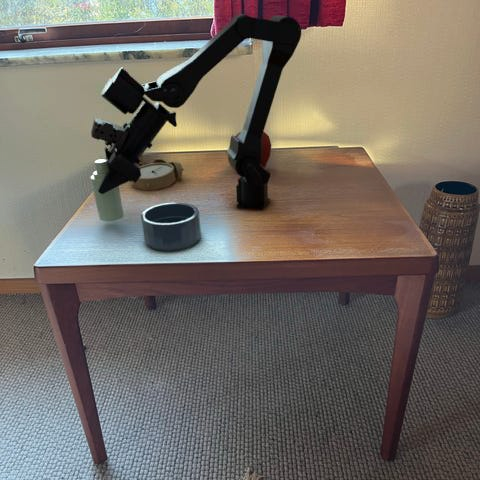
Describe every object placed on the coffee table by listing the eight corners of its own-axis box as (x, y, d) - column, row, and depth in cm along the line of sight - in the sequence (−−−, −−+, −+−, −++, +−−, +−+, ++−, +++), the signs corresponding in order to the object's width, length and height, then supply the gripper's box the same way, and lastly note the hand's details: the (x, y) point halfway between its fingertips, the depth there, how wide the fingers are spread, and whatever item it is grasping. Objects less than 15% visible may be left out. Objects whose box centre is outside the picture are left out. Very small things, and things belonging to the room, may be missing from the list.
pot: (209, 231, 110) (207, 205, 106) (187, 255, 101) (184, 227, 97) (161, 226, 113) (157, 200, 110) (135, 249, 104) (130, 221, 101)
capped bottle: (128, 212, 115) (118, 157, 108) (115, 222, 111) (104, 165, 104) (107, 210, 117) (96, 156, 110) (94, 220, 113) (82, 164, 106)
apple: (241, 164, 148) (239, 122, 141) (276, 167, 144) (276, 124, 138) (226, 176, 139) (224, 132, 133) (263, 179, 136) (263, 134, 129)
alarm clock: (122, 174, 135) (161, 150, 143) (127, 191, 138) (165, 167, 146) (151, 182, 129) (190, 156, 137) (156, 199, 132) (194, 174, 140)
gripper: (106, 94, 109) (65, 153, 113) (112, 112, 94) (65, 179, 98) (149, 128, 115) (108, 183, 119) (161, 150, 100) (114, 212, 104)
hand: (99, 188), depth 110 cm, fingers closed on capped bottle, 5 cm apart
